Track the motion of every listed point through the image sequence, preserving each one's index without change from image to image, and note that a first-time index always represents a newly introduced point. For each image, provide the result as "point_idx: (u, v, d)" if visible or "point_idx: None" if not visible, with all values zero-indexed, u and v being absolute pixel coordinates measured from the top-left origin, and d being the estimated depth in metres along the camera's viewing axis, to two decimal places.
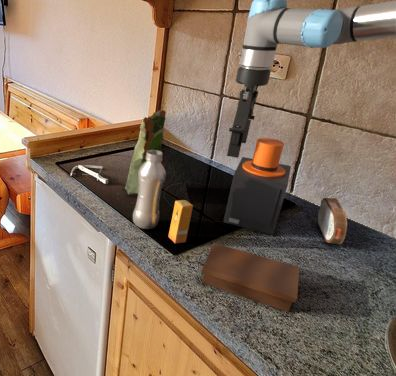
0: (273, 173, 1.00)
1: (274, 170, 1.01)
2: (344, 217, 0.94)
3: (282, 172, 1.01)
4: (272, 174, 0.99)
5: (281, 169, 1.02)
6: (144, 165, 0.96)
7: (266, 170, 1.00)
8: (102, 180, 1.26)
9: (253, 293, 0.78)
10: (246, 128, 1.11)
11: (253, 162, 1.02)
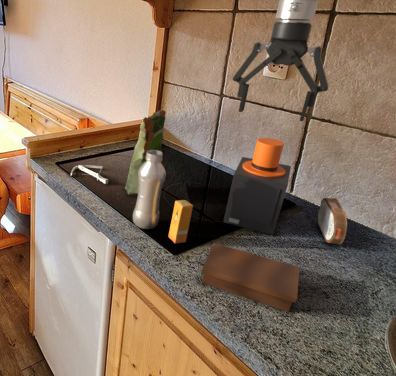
0: (273, 173, 1.00)
1: (274, 170, 1.01)
2: (344, 217, 0.94)
3: (282, 172, 1.01)
4: (272, 174, 0.99)
5: (281, 169, 1.02)
6: (144, 165, 0.96)
7: (266, 170, 1.00)
8: (102, 180, 1.26)
9: (253, 293, 0.78)
10: (246, 93, 1.01)
11: (253, 162, 1.02)
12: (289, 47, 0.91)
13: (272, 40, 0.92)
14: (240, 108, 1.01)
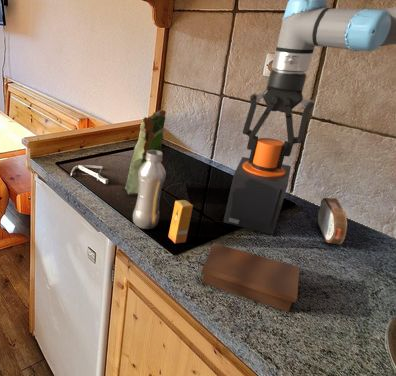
0: (273, 173, 1.00)
1: (274, 170, 1.01)
2: (344, 217, 0.94)
3: (282, 172, 1.01)
4: (272, 174, 0.99)
5: (281, 169, 1.02)
6: (144, 165, 0.96)
7: (266, 170, 1.00)
8: (102, 180, 1.26)
9: (253, 293, 0.78)
10: None
11: (253, 162, 1.02)
12: (287, 92, 0.94)
13: (268, 88, 0.95)
14: (250, 160, 1.03)
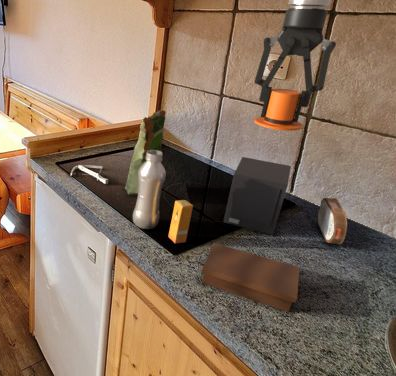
0: (289, 126, 0.89)
1: (290, 123, 0.90)
2: (344, 217, 0.94)
3: (299, 125, 0.90)
4: (288, 127, 0.89)
5: (297, 123, 0.92)
6: (144, 165, 0.96)
7: (280, 123, 0.90)
8: (102, 180, 1.26)
9: (253, 293, 0.78)
10: None
11: (266, 115, 0.92)
12: (306, 31, 0.83)
13: (284, 28, 0.85)
14: (262, 113, 0.93)
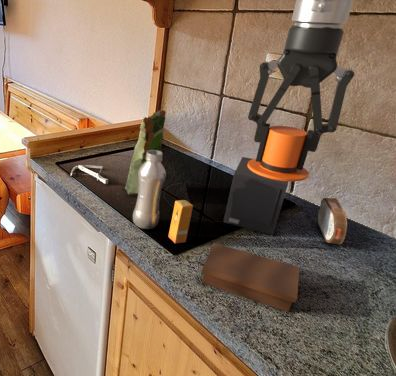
0: (292, 175, 0.70)
1: (293, 171, 0.71)
2: (344, 217, 0.94)
3: (304, 174, 0.71)
4: (290, 177, 0.69)
5: (302, 170, 0.73)
6: (144, 165, 0.96)
7: (281, 171, 0.70)
8: (102, 180, 1.26)
9: (253, 293, 0.78)
10: None
11: (263, 160, 0.73)
12: (315, 56, 0.64)
13: (286, 52, 0.66)
14: (258, 157, 0.73)
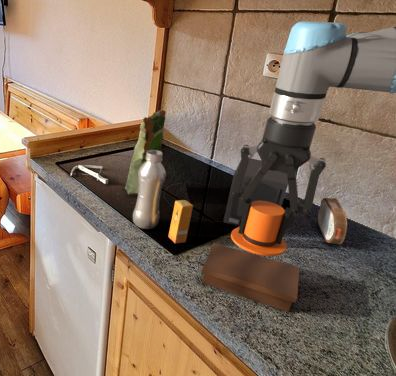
0: (271, 250, 0.76)
1: (272, 245, 0.76)
2: (344, 217, 0.94)
3: (282, 247, 0.77)
4: (269, 251, 0.75)
5: (281, 242, 0.78)
6: (144, 165, 0.96)
7: (261, 245, 0.76)
8: (102, 180, 1.26)
9: (253, 293, 0.78)
10: None
11: (245, 232, 0.78)
12: (290, 147, 0.69)
13: (265, 140, 0.71)
14: (240, 229, 0.79)
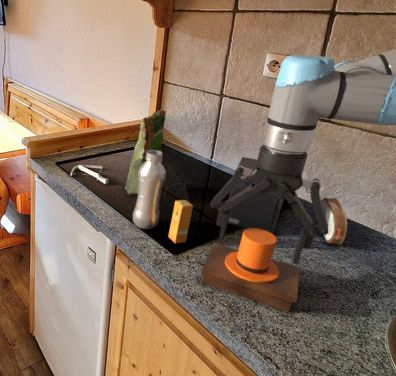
0: (263, 276, 0.78)
1: (264, 272, 0.79)
2: (344, 217, 0.94)
3: (274, 274, 0.79)
4: (262, 278, 0.78)
5: (273, 268, 0.81)
6: (144, 165, 0.96)
7: (254, 272, 0.79)
8: (102, 180, 1.26)
9: (253, 293, 0.78)
10: (227, 220, 0.82)
11: (238, 259, 0.81)
12: (279, 178, 0.72)
13: (258, 167, 0.73)
14: (220, 239, 0.82)
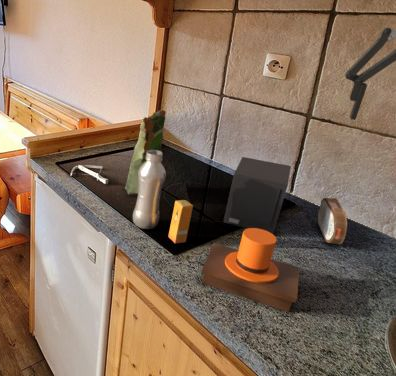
0: (263, 276, 0.78)
1: (264, 272, 0.79)
2: (344, 217, 0.94)
3: (274, 274, 0.79)
4: (262, 278, 0.78)
5: (273, 268, 0.81)
6: (144, 165, 0.96)
7: (254, 272, 0.79)
8: (102, 180, 1.26)
9: (253, 293, 0.78)
10: None
11: (238, 259, 0.81)
12: None
13: None
14: (354, 115, 0.77)
